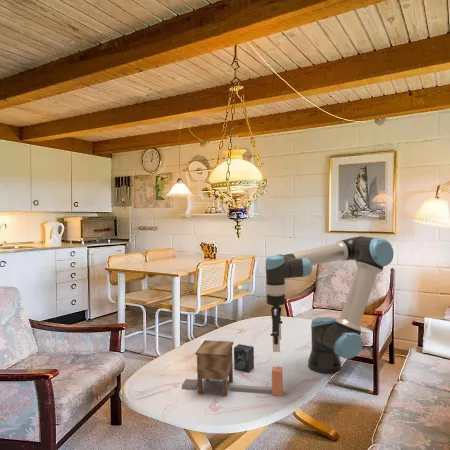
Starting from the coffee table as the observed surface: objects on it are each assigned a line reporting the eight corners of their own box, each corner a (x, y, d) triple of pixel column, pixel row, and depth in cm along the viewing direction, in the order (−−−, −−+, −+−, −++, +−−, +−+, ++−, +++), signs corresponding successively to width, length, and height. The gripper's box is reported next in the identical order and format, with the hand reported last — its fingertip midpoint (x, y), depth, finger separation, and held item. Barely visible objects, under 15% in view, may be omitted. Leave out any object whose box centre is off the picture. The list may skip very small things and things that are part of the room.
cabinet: (234, 380, 172) (233, 341, 171) (227, 396, 157) (226, 354, 156) (205, 378, 174) (204, 340, 173) (196, 394, 160) (195, 352, 159)
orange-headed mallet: (282, 390, 161) (282, 367, 161) (282, 396, 157) (281, 371, 156) (230, 386, 166) (229, 363, 165) (228, 391, 161) (227, 368, 161)
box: (233, 369, 183) (233, 347, 182) (239, 365, 188) (239, 343, 187) (249, 372, 179) (248, 350, 178) (254, 368, 184) (253, 346, 183)
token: (199, 384, 169) (199, 379, 169) (195, 390, 164) (195, 386, 163) (186, 383, 171) (185, 378, 170) (181, 389, 165) (181, 385, 165)
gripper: (268, 287, 171) (270, 334, 173) (264, 301, 147) (265, 356, 148) (285, 287, 170) (287, 335, 171) (284, 302, 146) (285, 357, 147)
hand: (277, 345), depth 160 cm, fingers open, 13 cm apart
